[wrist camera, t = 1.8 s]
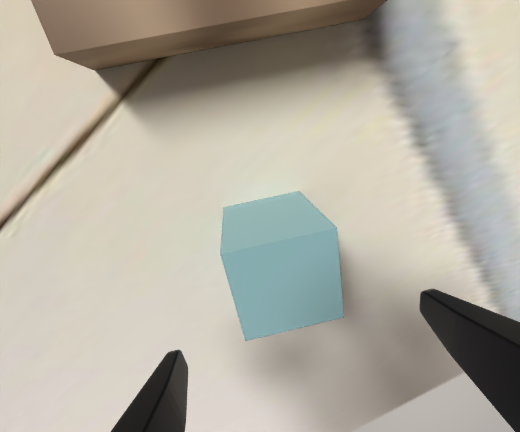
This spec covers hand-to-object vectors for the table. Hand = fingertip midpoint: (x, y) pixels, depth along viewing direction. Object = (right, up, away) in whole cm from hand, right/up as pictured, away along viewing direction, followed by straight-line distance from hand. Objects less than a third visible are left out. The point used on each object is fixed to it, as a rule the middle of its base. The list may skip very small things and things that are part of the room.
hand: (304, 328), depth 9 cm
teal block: (-1, +3, +8) cm, 8 cm away
